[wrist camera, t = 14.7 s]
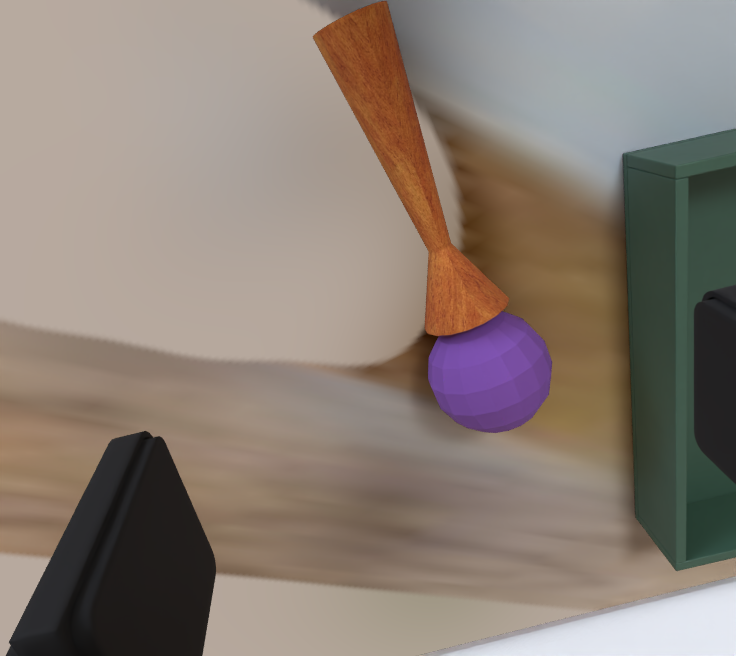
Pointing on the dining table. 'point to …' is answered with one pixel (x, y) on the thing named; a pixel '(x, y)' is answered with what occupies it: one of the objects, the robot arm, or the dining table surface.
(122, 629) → the robot arm
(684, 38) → the dining table surface
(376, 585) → the dining table surface
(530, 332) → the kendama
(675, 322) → the tray
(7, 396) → the dining table surface
